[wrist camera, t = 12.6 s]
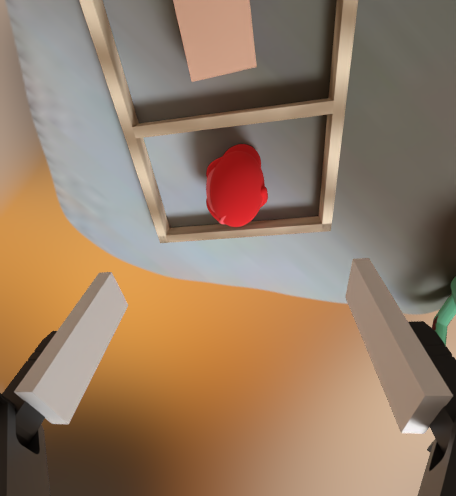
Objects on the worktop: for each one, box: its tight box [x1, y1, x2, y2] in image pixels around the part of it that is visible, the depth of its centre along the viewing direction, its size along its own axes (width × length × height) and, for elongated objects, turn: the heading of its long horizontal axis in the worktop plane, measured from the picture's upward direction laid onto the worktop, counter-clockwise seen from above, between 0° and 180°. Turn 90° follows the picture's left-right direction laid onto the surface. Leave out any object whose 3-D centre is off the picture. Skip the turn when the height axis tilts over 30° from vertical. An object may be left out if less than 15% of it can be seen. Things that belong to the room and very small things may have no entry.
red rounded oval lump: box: [206, 144, 268, 227], centre depth 26 cm, size 8×6×6 cm
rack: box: [79, 0, 358, 243], centre depth 24 cm, size 25×20×2 cm
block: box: [173, 0, 257, 82], centre depth 20 cm, size 5×5×4 cm
